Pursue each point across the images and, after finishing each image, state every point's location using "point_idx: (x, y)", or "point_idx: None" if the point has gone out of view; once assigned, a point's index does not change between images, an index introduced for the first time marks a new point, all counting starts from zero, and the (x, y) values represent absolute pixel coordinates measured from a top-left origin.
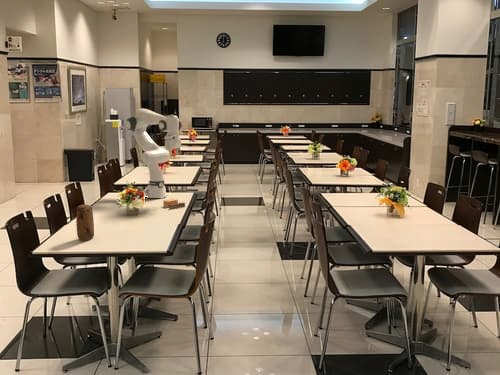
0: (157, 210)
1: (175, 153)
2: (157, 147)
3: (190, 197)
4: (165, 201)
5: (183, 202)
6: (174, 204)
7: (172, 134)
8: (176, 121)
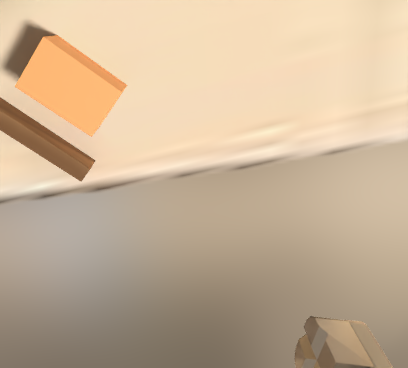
0: None
1: (312, 333)
2: None
3: (364, 138)
4: (31, 58)
5: (86, 171)
6: (11, 131)
7: None
8: None
